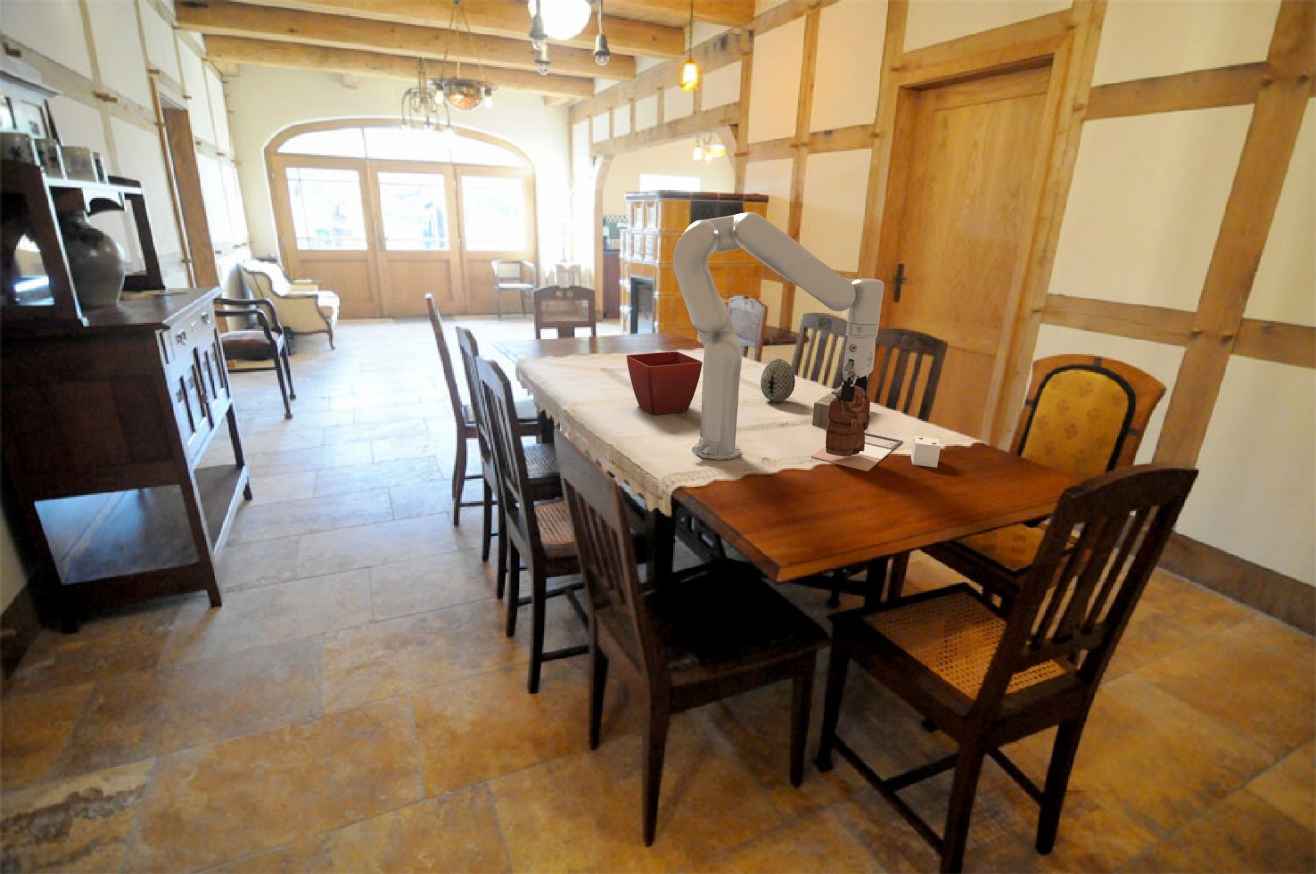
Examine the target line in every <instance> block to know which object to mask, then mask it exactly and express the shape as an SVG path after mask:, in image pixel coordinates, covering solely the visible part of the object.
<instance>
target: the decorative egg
mask: <svg viewBox="0 0 1316 874" xmlns="http://www.w3.org/2000/svg"><path fill="white" fill-rule="evenodd" d="M795 377H796V375H795V371H794V369H793V367H792V366H791V364H790V363H789V362H788V361H786V360H784V359H783V358H782V359H781V358H778V359H777V358H776V359H773V360H772V361H770V362H769V363H768V364H766V366H765V367H764V369H763V371H762V374H761V376H760V389H761V393H762V394H763V396H764V397H765V398H766V400H769V401H770V402H773V403H780V402H783V401H785V400H787V399H788V398H789V397H790V396H792V394H793V392H794V390H795V387H796V378H795Z"/></svg>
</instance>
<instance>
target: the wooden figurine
mask: <svg viewBox="0 0 1316 874" xmlns="http://www.w3.org/2000/svg"><path fill="white" fill-rule="evenodd" d="M854 386H855V385H854ZM841 391H842V389H840V390H839V391H838V392H837V394H836V398H834V399H833V400H832V401H831V402H830V405H829V411H828V417H829V419H830V422H829V424H828V427H827V428H826V432H825V447H826V452H827V453H828V454H832V455H836V456H845V457H846V456H852V455H856V454H859V451H864V449H865V442H866V435H865V433H866V432H865V431H866V430H868V428H869V426H870V425H869V424H870V419H871V416H870V414H869V413H870V410H871V399H870V397H869V396H868V394H867V392H866V393H865V391H864V390H863V389H862V388H860V387H859V386H855V393H854V401H853V402H848V401H843V400H841Z"/></svg>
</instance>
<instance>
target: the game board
mask: <svg viewBox="0 0 1316 874" xmlns="http://www.w3.org/2000/svg"><path fill="white" fill-rule="evenodd" d="M865 436H869V437H872V438H873V437H874V438H877V439H878V438H879V439H883V440H887V441H892V442H896V443H895V444H894V445H892V446H891V447H888V446H884V445H879V444H876V443H875V444H874V443H871V442H866V441H865V449H864V451H859V454H856V455H852V456H846V457H845V456H836V455H832V454H828V453H827V452H826V446H824V447H823V448H821V449H820V450H818V451H816V452H814V454H812V455H810V457H811V458H813V459H816V460H821V461H824V462H828V463H832V464H836V465H841V466H843V467H844V466H845V467H849V468H853V469H857V470H860V471H864V472H869V471H871V469H873V467H875V466H876V465H878V463H880V462H881V461H882V460H883V459H884V458H886V456H888V455H889V454H891V452H892V451H894V450H895V449H896V448H897V447H898V446H900V445H901V444H902V443H903V441H904V440H902V439H901V440H900V439H897V438H892V437H887V436H882V435H878V434H874V433H869V432H865Z"/></svg>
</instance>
